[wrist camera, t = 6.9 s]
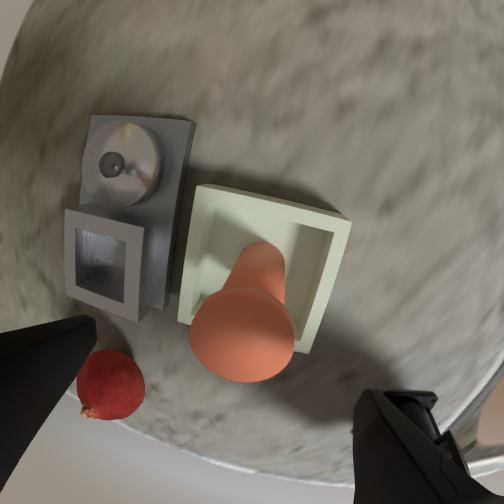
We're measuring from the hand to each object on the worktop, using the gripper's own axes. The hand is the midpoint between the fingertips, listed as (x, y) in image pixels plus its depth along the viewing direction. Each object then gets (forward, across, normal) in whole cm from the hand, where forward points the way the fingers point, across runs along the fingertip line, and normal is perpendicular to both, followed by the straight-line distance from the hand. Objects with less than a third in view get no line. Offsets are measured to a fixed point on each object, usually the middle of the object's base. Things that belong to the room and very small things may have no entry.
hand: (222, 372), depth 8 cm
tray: (+11, 0, 0) cm, 11 cm away
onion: (+12, +9, +12) cm, 19 cm away
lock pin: (+11, 0, 0) cm, 11 cm away
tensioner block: (+11, +10, -1) cm, 15 cm away
